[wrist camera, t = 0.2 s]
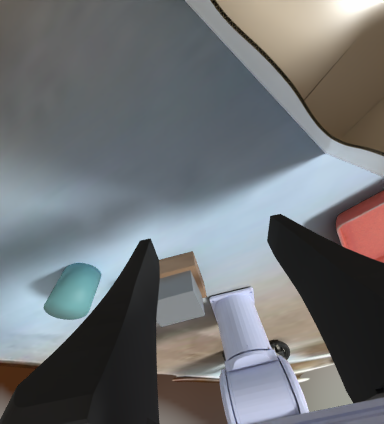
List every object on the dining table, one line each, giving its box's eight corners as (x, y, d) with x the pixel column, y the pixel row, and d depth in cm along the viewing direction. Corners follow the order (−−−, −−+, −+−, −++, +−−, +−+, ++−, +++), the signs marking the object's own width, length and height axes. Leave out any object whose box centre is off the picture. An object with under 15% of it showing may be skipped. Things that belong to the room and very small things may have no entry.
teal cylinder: (107, 280, 27) (96, 314, 23) (77, 287, 27) (61, 322, 23) (89, 259, 24) (73, 293, 20) (56, 268, 25) (33, 303, 20)
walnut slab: (203, 280, 31) (206, 297, 28) (158, 291, 31) (157, 309, 29) (192, 248, 26) (194, 265, 24) (139, 262, 26) (136, 280, 24)
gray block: (201, 295, 28) (205, 315, 25) (161, 306, 28) (161, 327, 26) (190, 270, 24) (193, 290, 22) (144, 282, 25) (141, 304, 22)
